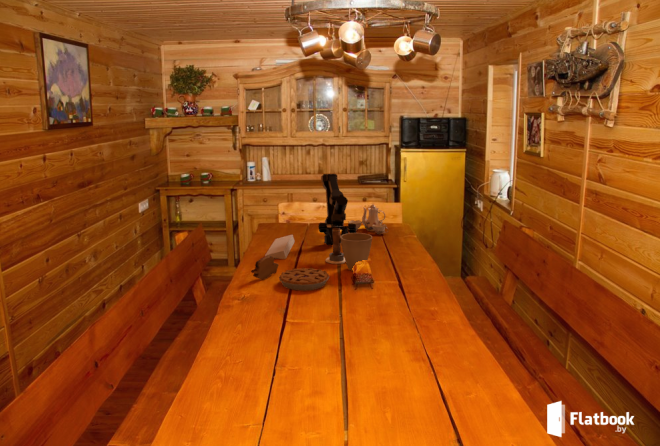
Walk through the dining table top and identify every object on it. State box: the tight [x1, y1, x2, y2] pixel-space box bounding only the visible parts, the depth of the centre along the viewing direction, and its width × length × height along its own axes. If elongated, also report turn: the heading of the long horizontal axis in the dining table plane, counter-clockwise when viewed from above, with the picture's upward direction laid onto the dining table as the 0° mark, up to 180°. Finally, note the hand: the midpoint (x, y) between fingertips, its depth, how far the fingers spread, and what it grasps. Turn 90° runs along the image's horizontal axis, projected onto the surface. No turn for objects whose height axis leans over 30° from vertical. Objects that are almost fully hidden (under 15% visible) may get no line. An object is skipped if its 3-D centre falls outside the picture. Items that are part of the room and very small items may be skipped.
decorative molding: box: [264, 234, 295, 260], centre depth 301 cm, size 34×5×10 cm
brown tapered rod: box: [332, 228, 341, 256], centre depth 278 cm, size 4×4×15 cm
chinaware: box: [347, 203, 389, 235], centre depth 341 cm, size 28×17×17 cm, turn 58°
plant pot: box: [340, 232, 373, 271], centre depth 264 cm, size 15×15×16 cm
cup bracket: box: [325, 252, 346, 265], centre depth 280 cm, size 11×11×3 cm
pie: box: [278, 267, 330, 292], centre depth 246 cm, size 22×22×5 cm
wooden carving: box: [250, 256, 279, 280], centre depth 253 cm, size 16×5×10 cm, turn 150°
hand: (336, 242), depth 277 cm, fingers closed on brown tapered rod, 3 cm apart
